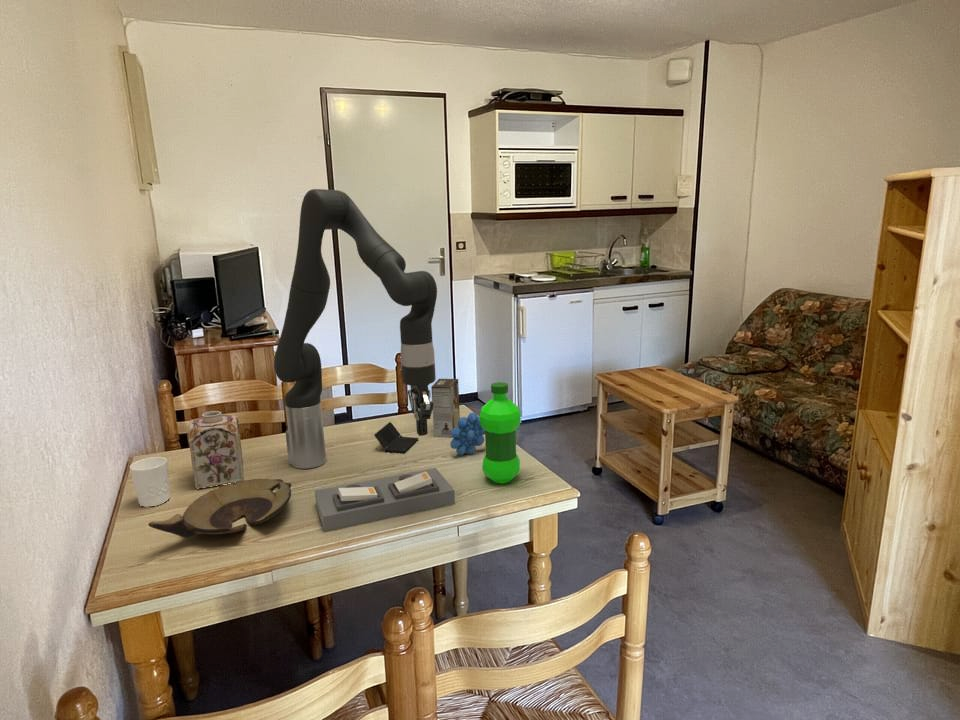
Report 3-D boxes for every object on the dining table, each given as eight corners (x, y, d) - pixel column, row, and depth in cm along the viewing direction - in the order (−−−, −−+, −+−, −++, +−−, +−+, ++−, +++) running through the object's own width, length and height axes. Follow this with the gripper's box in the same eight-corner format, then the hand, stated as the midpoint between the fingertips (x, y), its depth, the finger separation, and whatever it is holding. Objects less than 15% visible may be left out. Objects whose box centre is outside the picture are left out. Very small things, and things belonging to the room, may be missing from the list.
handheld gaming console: (411, 448, 172) (389, 421, 172) (392, 463, 173) (370, 436, 173) (420, 439, 183) (400, 413, 183) (402, 453, 184) (382, 427, 184)
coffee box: (441, 426, 194) (438, 377, 190) (460, 427, 192) (458, 378, 188) (433, 436, 185) (430, 386, 181) (453, 437, 184) (451, 386, 180)
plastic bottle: (473, 481, 154) (470, 386, 148) (498, 467, 162) (496, 376, 156) (504, 491, 148) (502, 393, 142) (529, 476, 155) (528, 382, 149)
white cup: (136, 512, 143) (129, 472, 140) (137, 498, 149) (130, 460, 147) (173, 504, 146) (167, 465, 144) (172, 491, 153) (166, 454, 151)
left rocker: (341, 501, 134) (341, 495, 134) (338, 492, 138) (338, 487, 138) (377, 499, 137) (377, 494, 137) (372, 491, 141) (373, 486, 141)
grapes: (481, 444, 177) (480, 405, 174) (492, 452, 172) (491, 412, 169) (444, 452, 172) (443, 412, 169) (454, 460, 166) (453, 419, 164)
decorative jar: (195, 491, 153) (184, 423, 148) (197, 473, 163) (188, 409, 159) (245, 482, 157) (237, 416, 153) (244, 465, 167) (236, 403, 163)
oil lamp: (307, 526, 134) (304, 494, 132) (154, 568, 120) (148, 533, 118) (285, 488, 153) (281, 460, 151) (150, 520, 139) (145, 489, 137)
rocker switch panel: (324, 531, 131) (322, 512, 130) (315, 504, 144) (314, 486, 143) (454, 503, 142) (454, 486, 141) (436, 480, 155) (435, 464, 154)
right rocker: (400, 495, 139) (398, 490, 138) (395, 487, 143) (394, 482, 142) (432, 483, 141) (431, 478, 141) (427, 475, 145) (425, 471, 145)
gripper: (443, 365, 131) (447, 441, 135) (425, 353, 143) (429, 423, 147) (409, 370, 129) (414, 446, 133) (394, 357, 141) (399, 428, 145)
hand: (422, 434), depth 140 cm, fingers closed
